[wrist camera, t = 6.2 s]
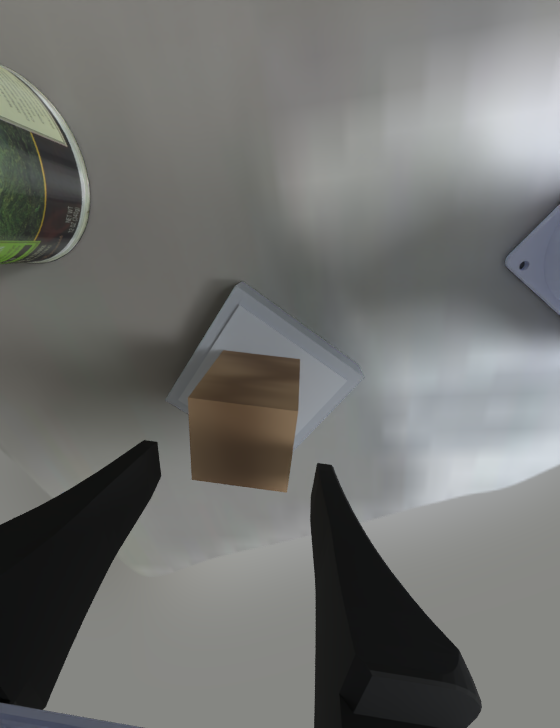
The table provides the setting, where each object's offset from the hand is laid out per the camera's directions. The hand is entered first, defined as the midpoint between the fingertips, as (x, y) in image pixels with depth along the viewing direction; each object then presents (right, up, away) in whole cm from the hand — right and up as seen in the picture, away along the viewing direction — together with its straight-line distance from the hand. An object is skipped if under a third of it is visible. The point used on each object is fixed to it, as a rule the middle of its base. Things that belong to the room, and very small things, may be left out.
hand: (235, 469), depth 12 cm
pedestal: (+1, +4, +9) cm, 9 cm away
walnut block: (+1, +3, +7) cm, 7 cm away
